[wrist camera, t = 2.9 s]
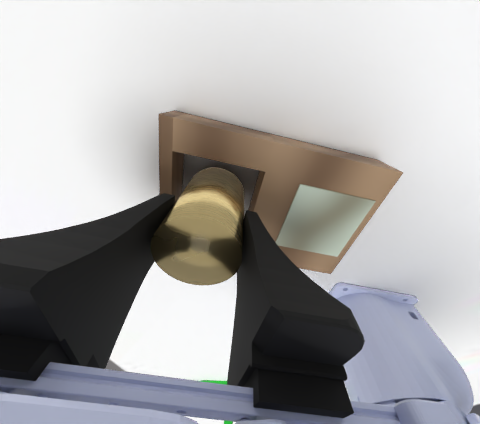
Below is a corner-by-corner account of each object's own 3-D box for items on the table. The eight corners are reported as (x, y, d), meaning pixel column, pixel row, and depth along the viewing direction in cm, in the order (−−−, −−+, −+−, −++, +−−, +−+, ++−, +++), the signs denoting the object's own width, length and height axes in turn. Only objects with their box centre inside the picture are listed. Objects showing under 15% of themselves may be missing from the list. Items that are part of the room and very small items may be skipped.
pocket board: (377, 159, 13) (404, 173, 11) (320, 252, 18) (331, 274, 16) (174, 110, 12) (157, 114, 10) (171, 223, 17) (159, 243, 14)
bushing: (250, 174, 12) (251, 229, 7) (238, 222, 15) (232, 290, 9) (190, 161, 12) (148, 209, 7) (186, 212, 14) (152, 277, 9)
